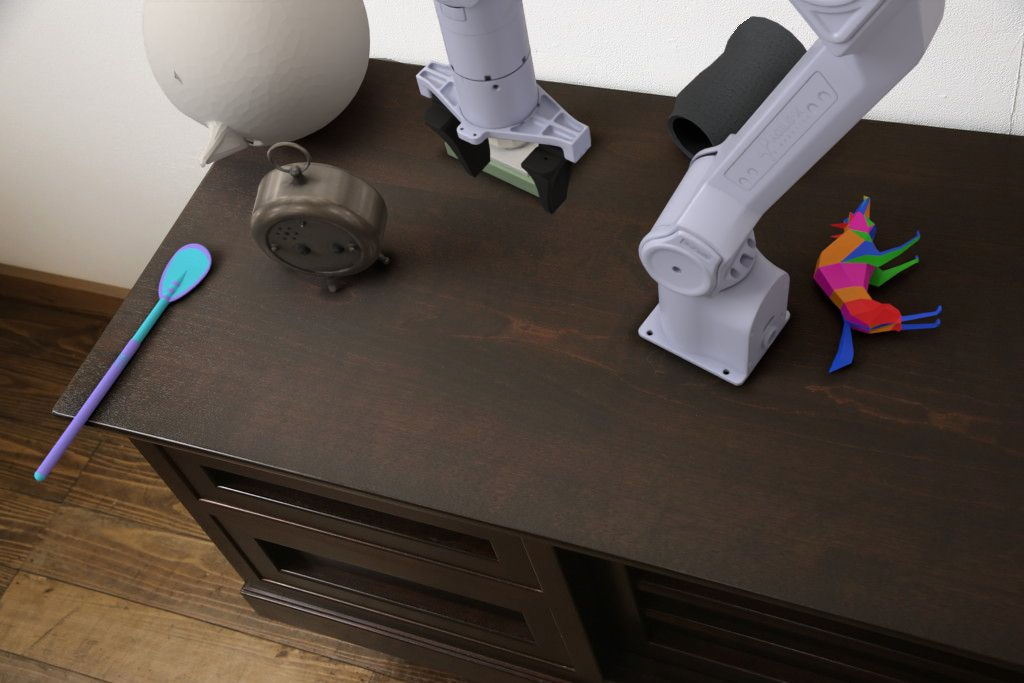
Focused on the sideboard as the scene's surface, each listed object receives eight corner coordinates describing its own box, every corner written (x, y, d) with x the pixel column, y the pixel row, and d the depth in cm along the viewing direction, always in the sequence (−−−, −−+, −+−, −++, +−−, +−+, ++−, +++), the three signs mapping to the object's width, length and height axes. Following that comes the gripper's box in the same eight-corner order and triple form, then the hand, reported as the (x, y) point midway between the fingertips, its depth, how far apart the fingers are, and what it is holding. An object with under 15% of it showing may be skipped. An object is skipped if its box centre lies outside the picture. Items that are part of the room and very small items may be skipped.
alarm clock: (404, 248, 96) (356, 115, 83) (394, 297, 93) (343, 167, 80) (287, 249, 98) (222, 120, 85) (274, 297, 95) (204, 171, 82)
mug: (724, 51, 101) (644, 128, 98) (751, -3, 92) (663, 80, 90) (821, 136, 99) (741, 217, 97) (857, 89, 91) (771, 176, 88)
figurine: (904, 173, 86) (789, 198, 88) (952, 338, 79) (827, 361, 81) (903, 201, 89) (793, 225, 91) (949, 362, 82) (829, 384, 84)
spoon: (185, 245, 100) (180, 237, 99) (222, 258, 99) (218, 249, 98) (19, 474, 88) (12, 467, 87) (59, 491, 87) (53, 484, 86)
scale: (591, 141, 100) (589, 125, 98) (540, 198, 97) (537, 182, 95) (498, 101, 105) (495, 85, 103) (447, 154, 102) (443, 138, 100)
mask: (246, -32, 113) (77, -41, 97) (361, -121, 102) (192, -148, 86) (319, 166, 113) (164, 188, 97) (442, 98, 102) (288, 111, 86)
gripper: (374, 54, 76) (416, 184, 87) (539, 126, 70) (561, 256, 81) (437, -5, 79) (470, 129, 90) (601, 59, 72) (614, 194, 83)
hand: (517, 186), depth 85 cm, fingers open, 7 cm apart
